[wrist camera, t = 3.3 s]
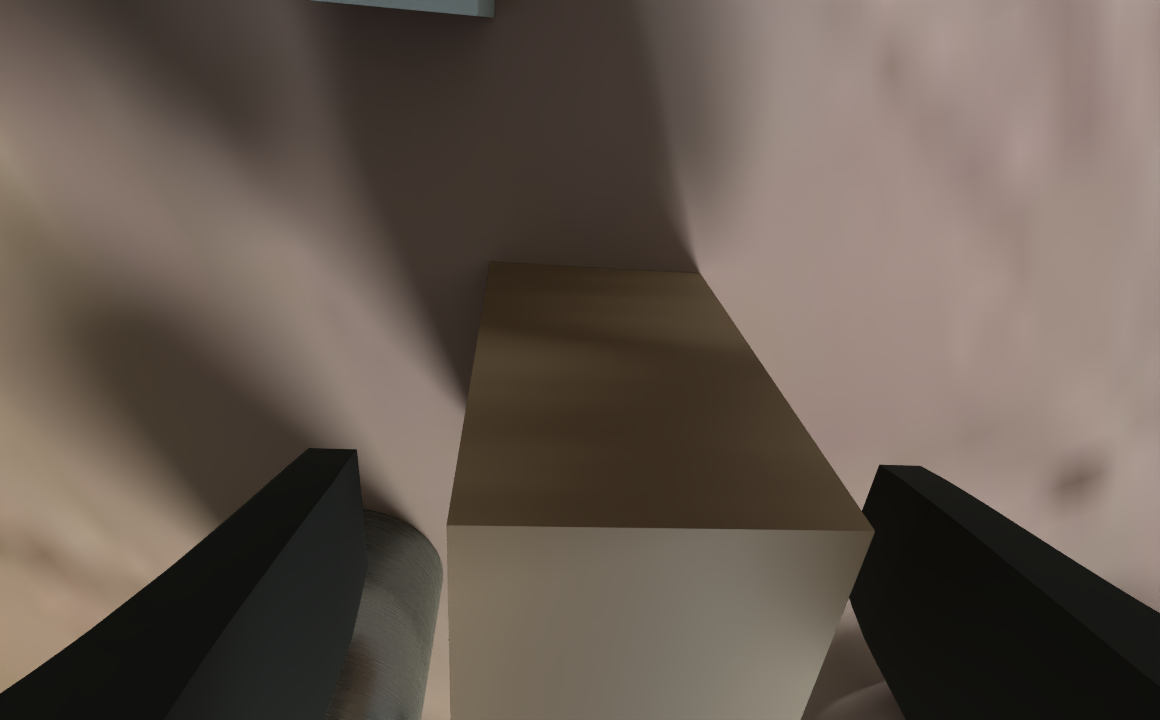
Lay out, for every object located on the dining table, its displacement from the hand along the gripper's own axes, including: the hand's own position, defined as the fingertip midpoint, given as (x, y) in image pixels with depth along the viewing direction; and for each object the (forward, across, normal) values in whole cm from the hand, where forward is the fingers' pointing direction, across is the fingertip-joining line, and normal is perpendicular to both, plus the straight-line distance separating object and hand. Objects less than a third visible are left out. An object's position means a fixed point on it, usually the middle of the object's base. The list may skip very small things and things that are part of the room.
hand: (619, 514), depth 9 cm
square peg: (+5, 0, 0) cm, 5 cm away
